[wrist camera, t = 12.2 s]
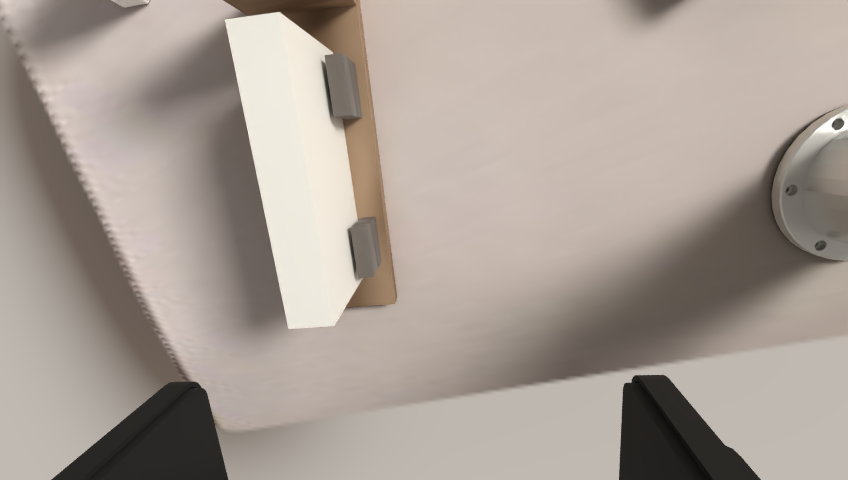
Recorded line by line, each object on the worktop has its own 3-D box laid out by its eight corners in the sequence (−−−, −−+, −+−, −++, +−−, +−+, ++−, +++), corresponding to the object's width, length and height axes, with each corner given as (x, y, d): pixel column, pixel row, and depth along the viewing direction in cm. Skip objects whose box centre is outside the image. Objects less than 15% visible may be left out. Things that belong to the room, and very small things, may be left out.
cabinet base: (357, -18, 31) (285, -142, 17) (397, 297, 37) (367, 389, 23) (257, -4, 31) (111, -113, 18) (313, 303, 37) (237, 397, 24)
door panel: (332, 52, 30) (279, 11, 21) (365, 273, 35) (334, 325, 25) (282, 58, 31) (206, 22, 21) (321, 277, 35) (273, 330, 25)
